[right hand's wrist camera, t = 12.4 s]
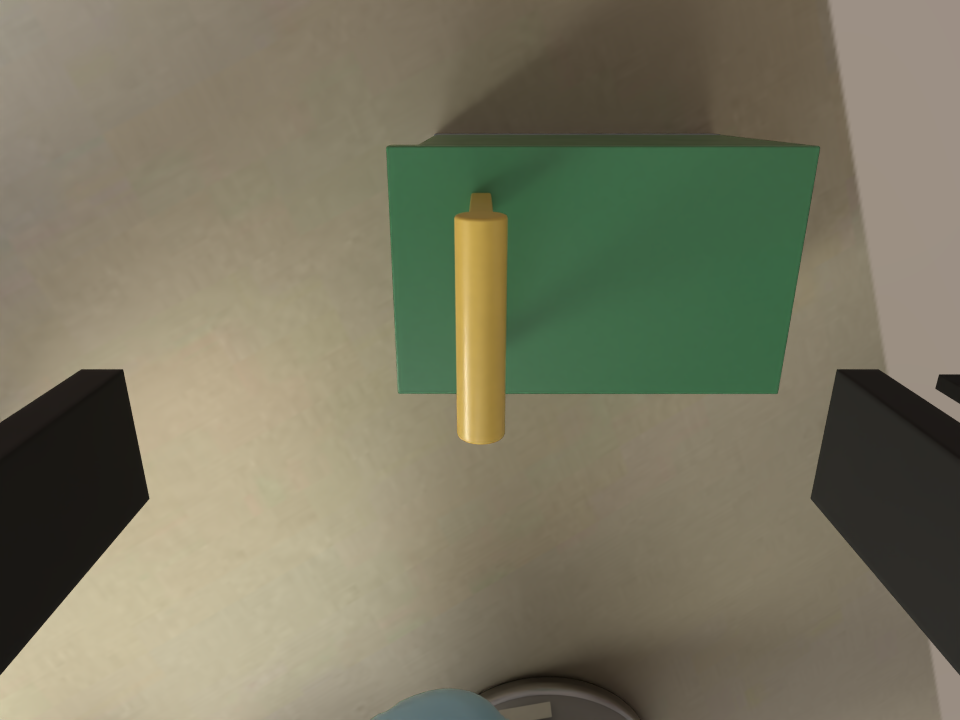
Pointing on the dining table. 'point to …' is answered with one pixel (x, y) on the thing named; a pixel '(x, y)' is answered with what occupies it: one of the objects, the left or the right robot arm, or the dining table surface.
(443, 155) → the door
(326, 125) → the dining table surface
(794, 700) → the dining table surface
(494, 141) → the chest
